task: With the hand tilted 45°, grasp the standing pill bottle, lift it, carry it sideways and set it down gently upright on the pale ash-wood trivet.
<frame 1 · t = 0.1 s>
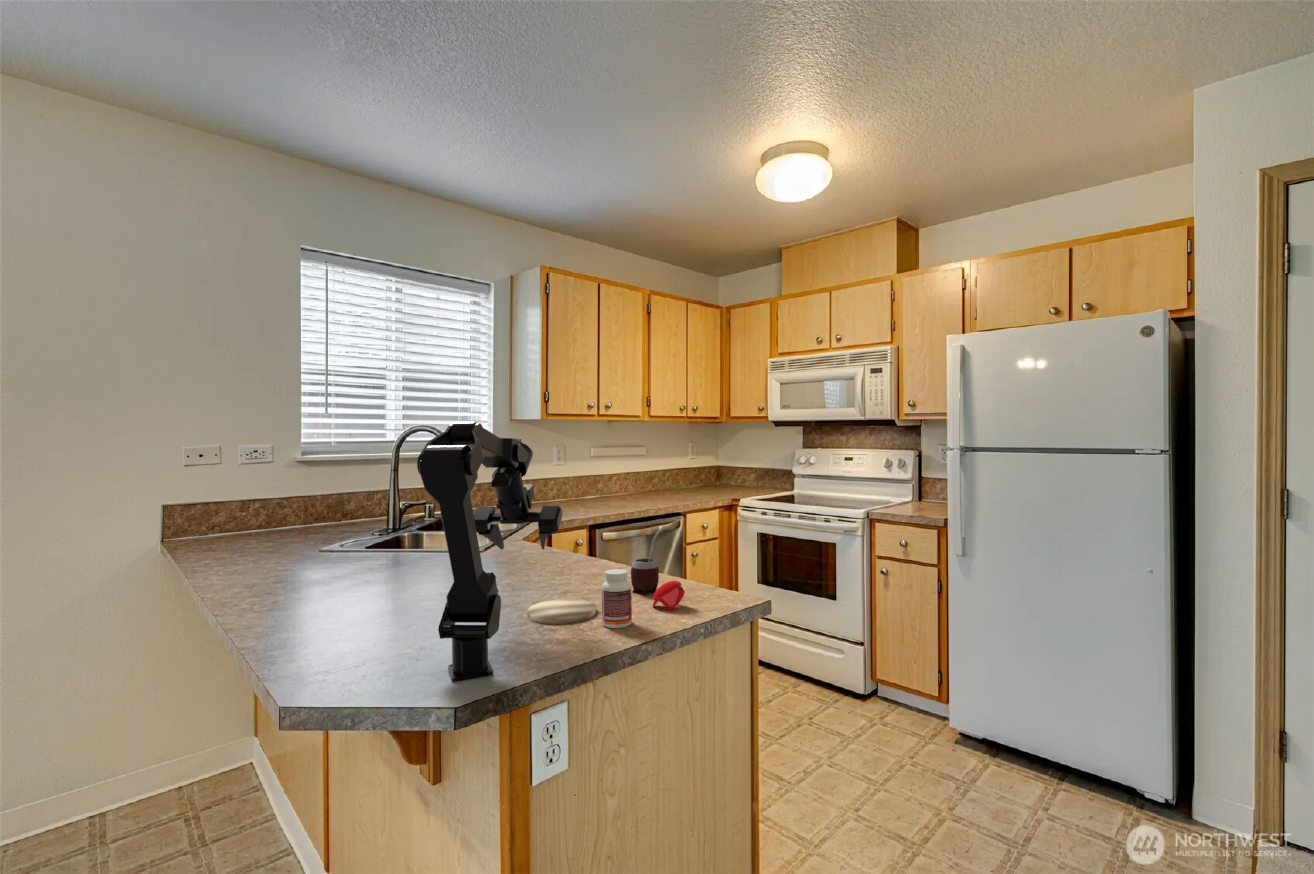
hand: (523, 548, 130), 15 cm above the counter, tool tilted 35°, fingers open, 9 cm apart
pill bottle: (617, 625, 123), on the counter
mate gourd: (646, 592, 149), on the counter
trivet: (562, 613, 131), on the counter
cap: (668, 608, 135), on the counter
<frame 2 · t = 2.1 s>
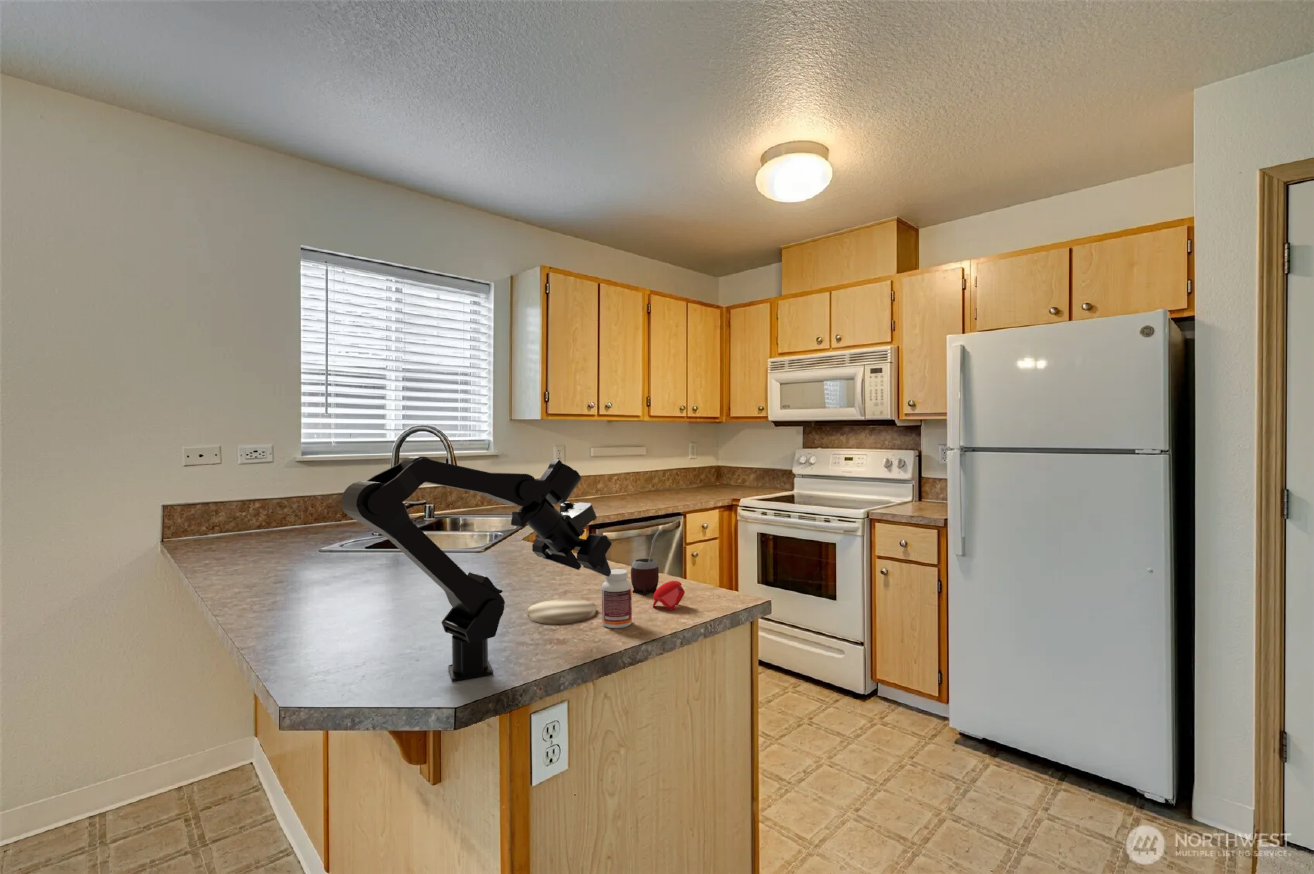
hand: (594, 571, 119), 12 cm above the counter, tool tilted 45°, fingers open, 9 cm apart
nothing on the counter moved.
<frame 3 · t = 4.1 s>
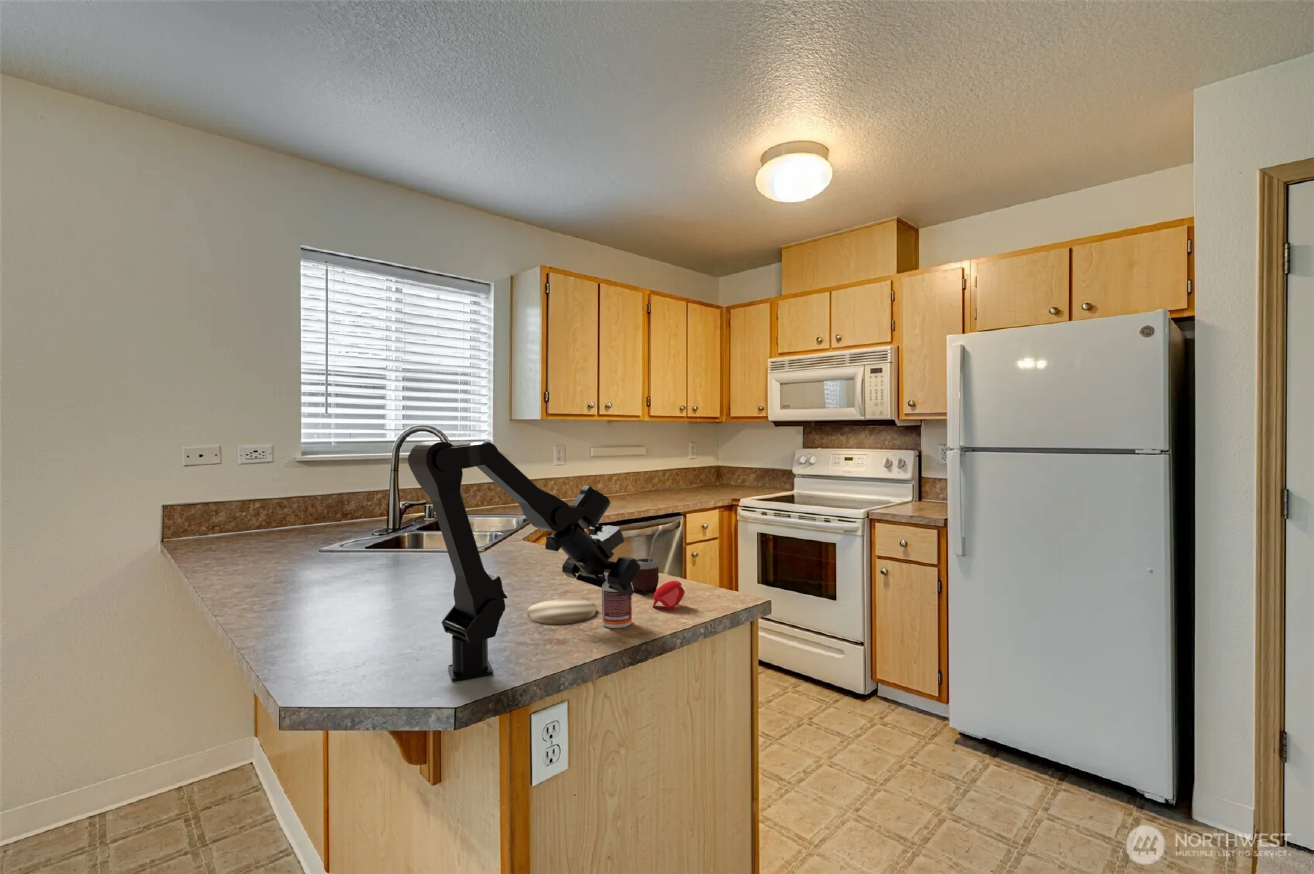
hand: (621, 591, 124), 7 cm above the counter, tool tilted 45°, fingers closed on pill bottle, 6 cm apart
pill bottle: (617, 625, 123), on the counter, touching gripper
everything else where it was.
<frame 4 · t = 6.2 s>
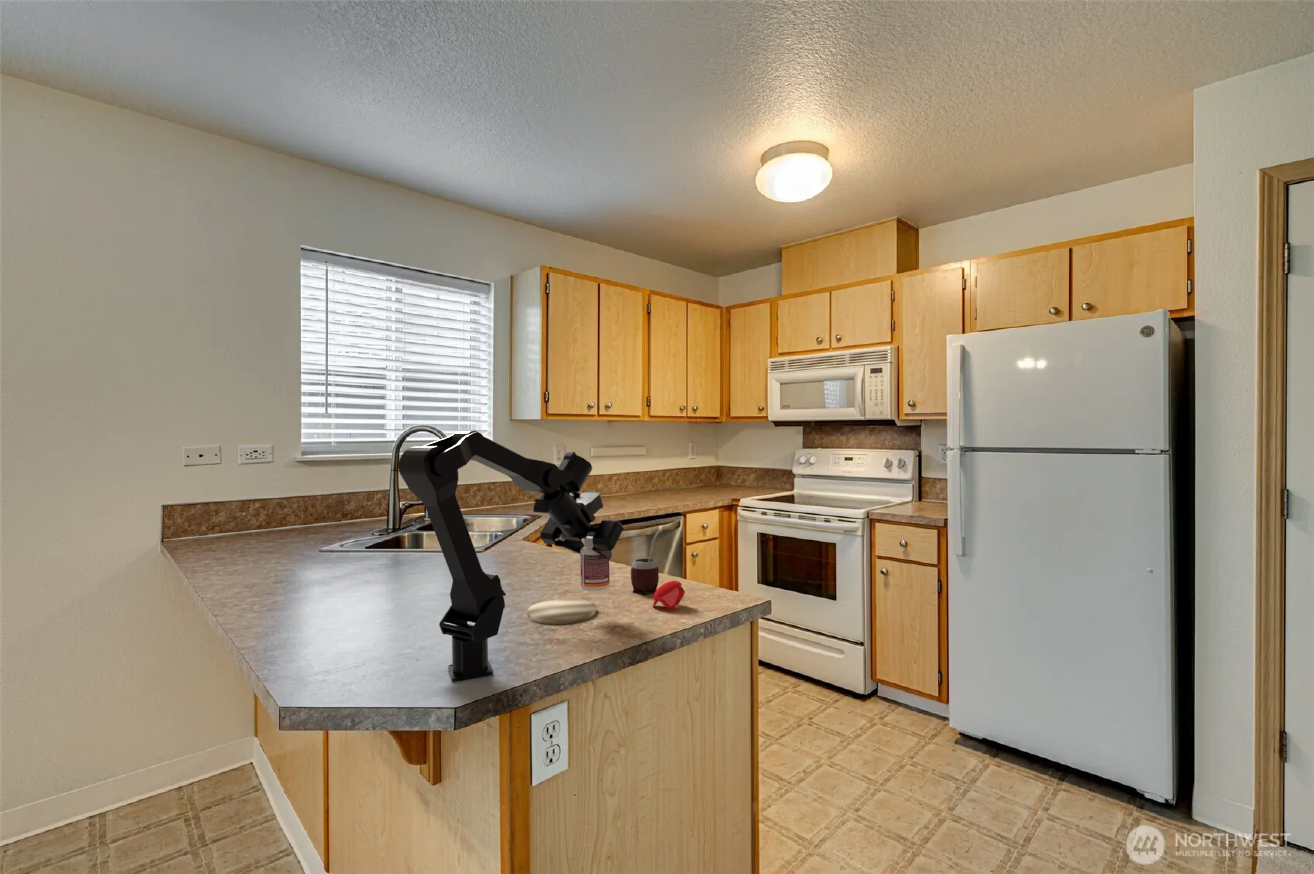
hand: (598, 555, 128), 13 cm above the counter, tool tilted 45°, fingers closed on pill bottle, 6 cm apart
pill bottle: (595, 588, 127), point 6 cm above the counter, touching gripper
everything else where it was.
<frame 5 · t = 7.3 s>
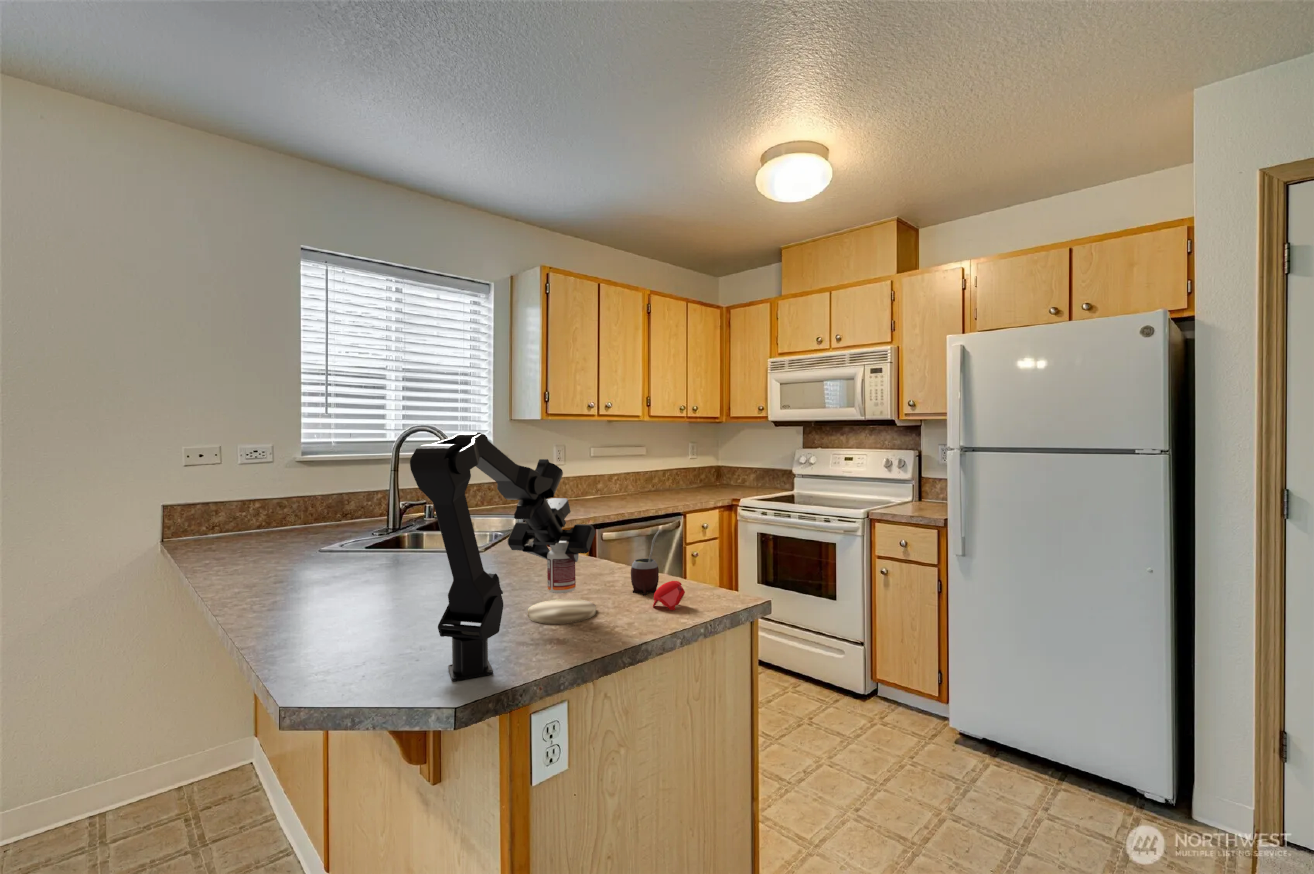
hand: (563, 559, 132), 12 cm above the counter, tool tilted 45°, fingers closed on pill bottle, 6 cm apart
pill bottle: (561, 591, 131), point 5 cm above the counter, touching gripper
everything else where it was.
when the fingers open (9 cm above the counter, at t = 8.3 s): pill bottle drops 1 cm, resting on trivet.
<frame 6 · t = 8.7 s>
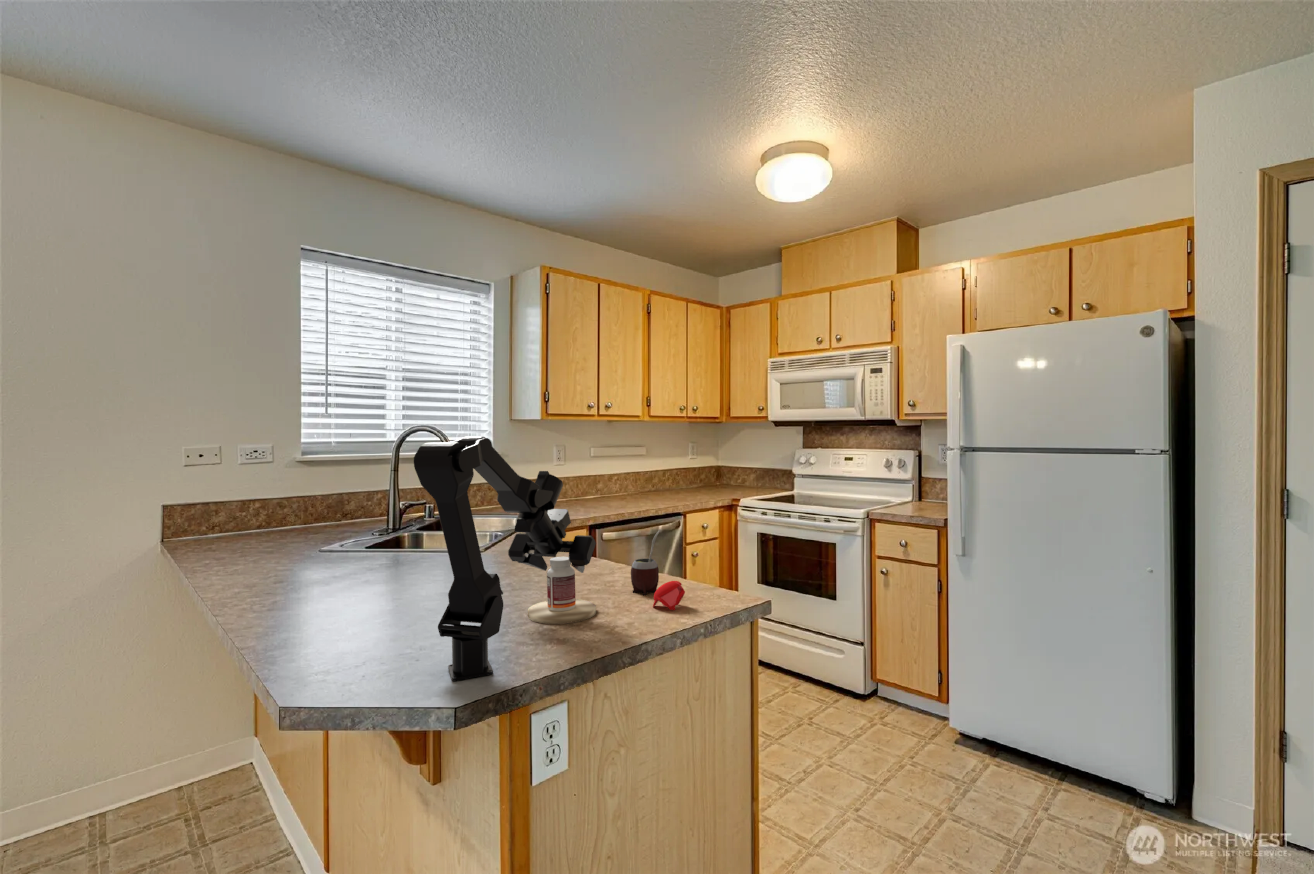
hand: (564, 569, 133), 9 cm above the counter, tool tilted 45°, fingers open, 9 cm apart
pill bottle: (561, 609, 131), point 1 cm above the counter, touching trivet
everything else where it was.
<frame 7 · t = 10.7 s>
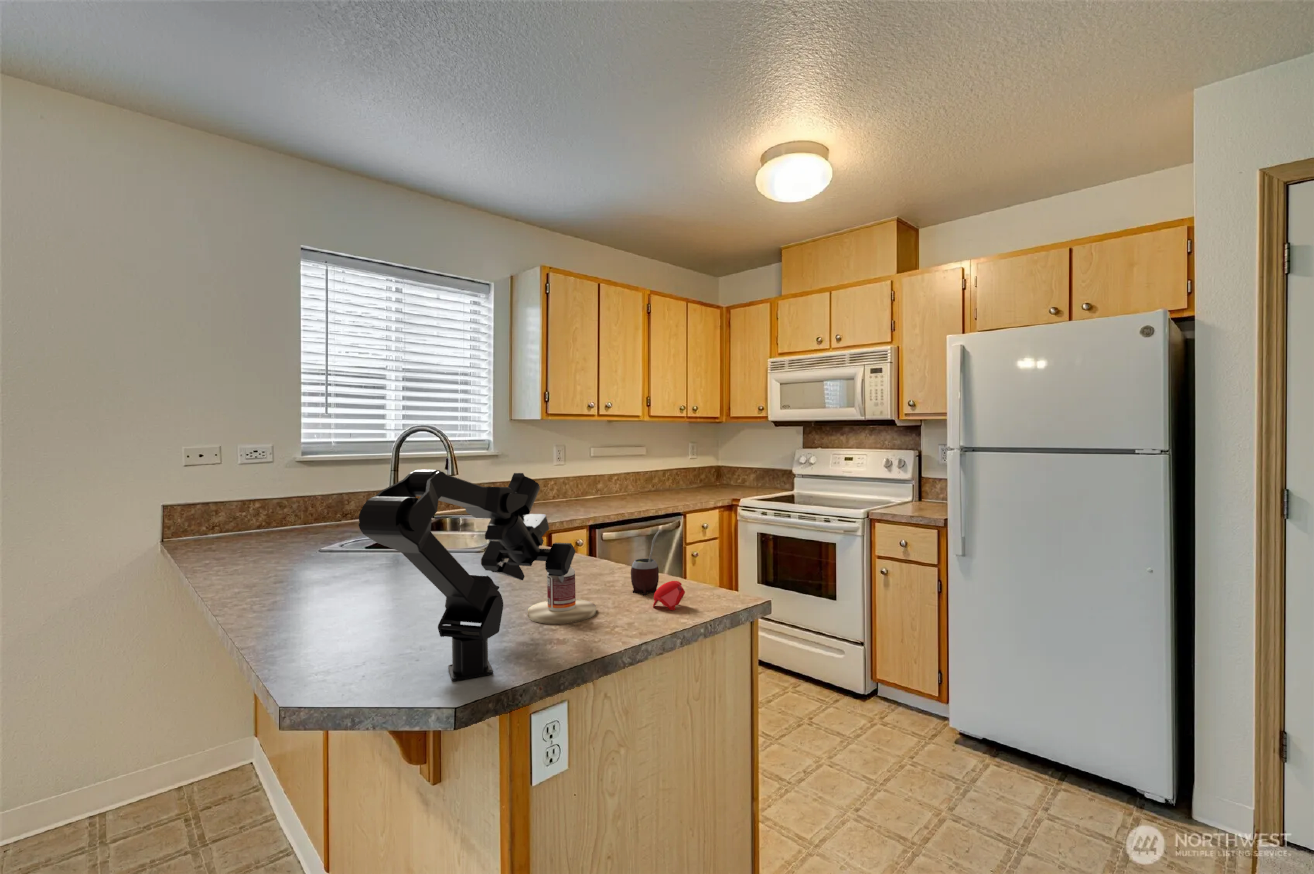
hand: (542, 579, 123), 10 cm above the counter, tool tilted 45°, fingers open, 9 cm apart
nothing on the counter moved.
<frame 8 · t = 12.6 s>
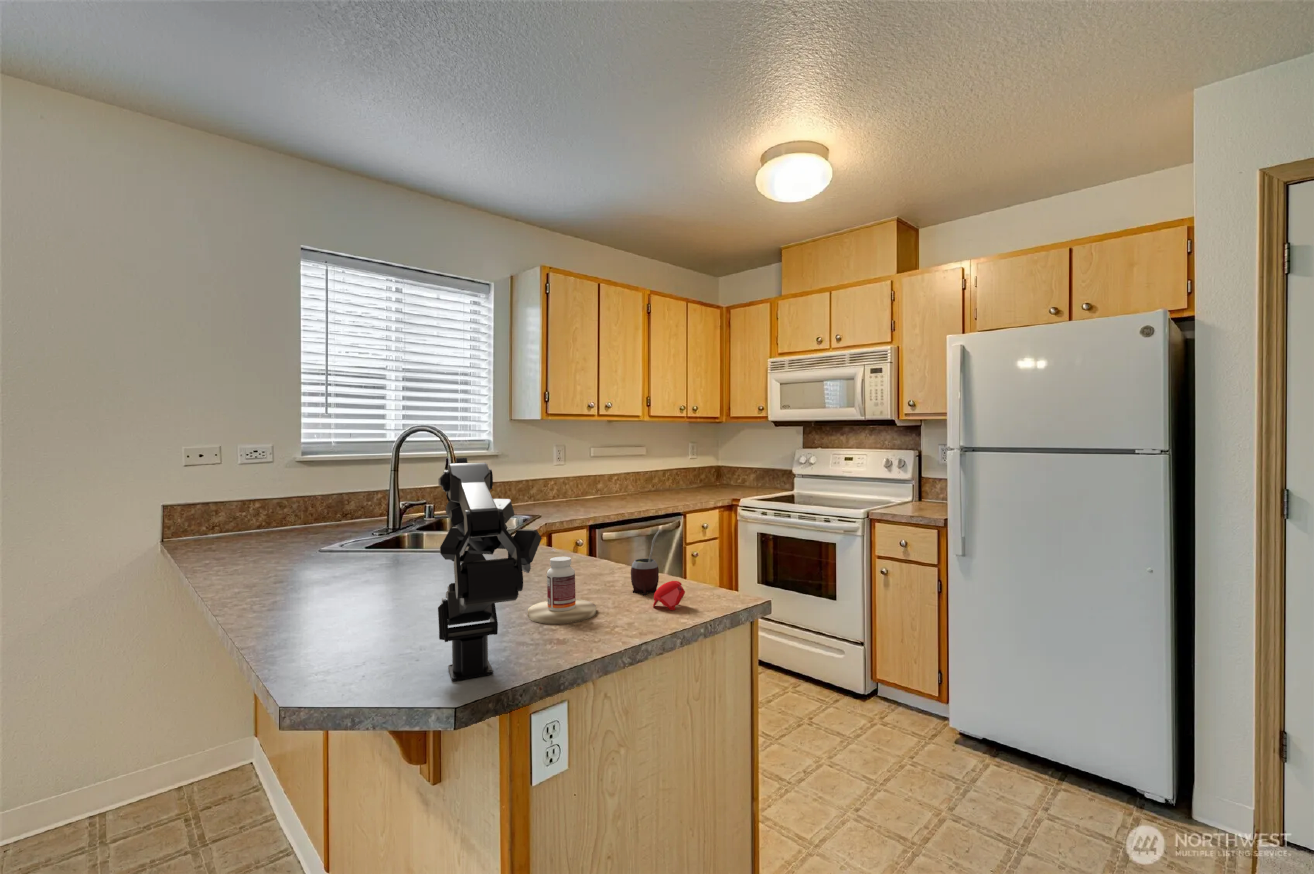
hand: (508, 569, 115), 14 cm above the counter, tool tilted 45°, fingers open, 9 cm apart
nothing on the counter moved.
at the end: pill bottle inside the target area on the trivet (0.2 cm from its centre), point 1.0 cm above the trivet's base; pill bottle tilted 0°; the gripper is holding nothing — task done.
